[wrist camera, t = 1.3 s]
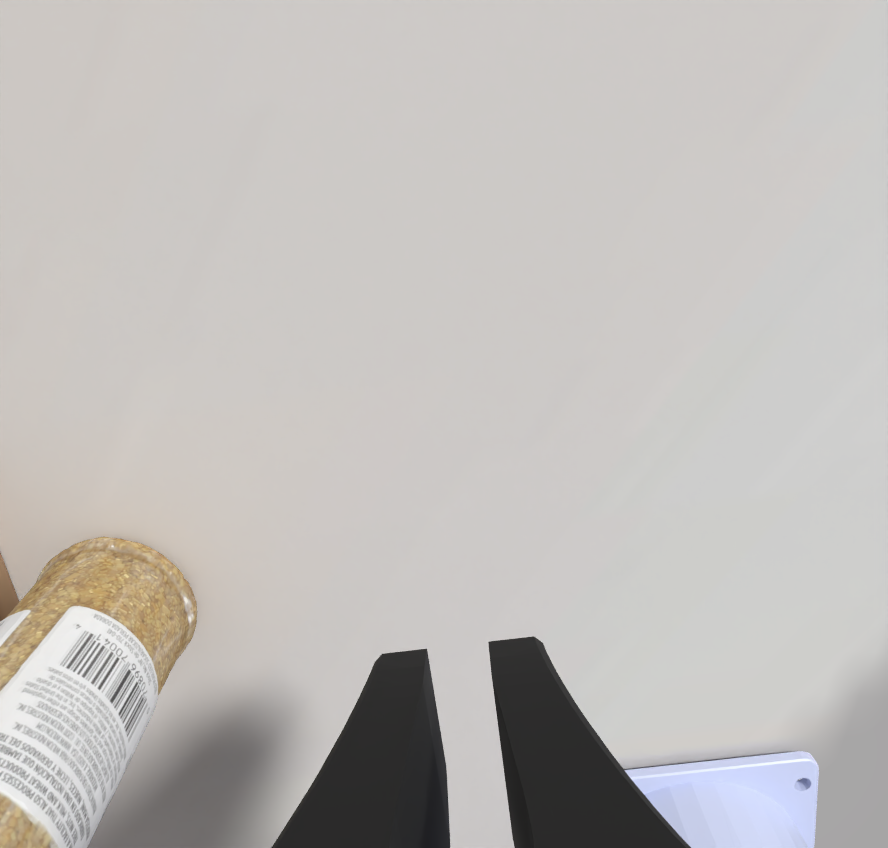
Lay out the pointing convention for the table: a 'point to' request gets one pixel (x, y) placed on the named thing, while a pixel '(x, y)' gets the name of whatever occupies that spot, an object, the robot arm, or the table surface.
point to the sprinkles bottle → (83, 684)
